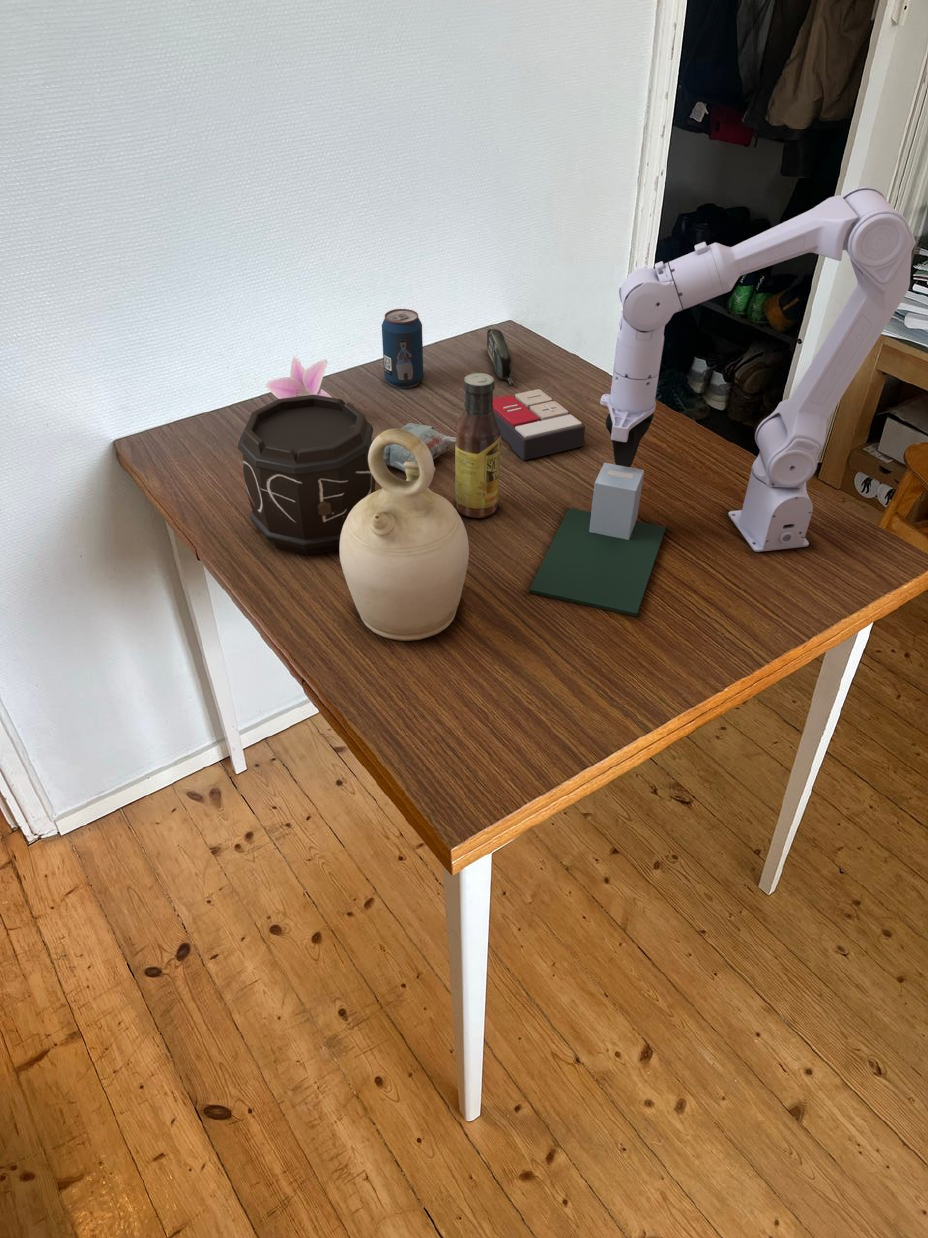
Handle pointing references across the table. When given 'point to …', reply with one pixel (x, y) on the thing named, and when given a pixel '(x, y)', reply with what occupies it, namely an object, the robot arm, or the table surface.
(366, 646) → the table surface
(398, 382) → the soda can
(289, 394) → the lily
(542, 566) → the rubber mat
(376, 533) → the jug
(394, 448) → the packaged food
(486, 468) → the sauce bottle
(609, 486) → the grey block
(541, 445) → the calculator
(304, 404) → the octagonal coffee canister
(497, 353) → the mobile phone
